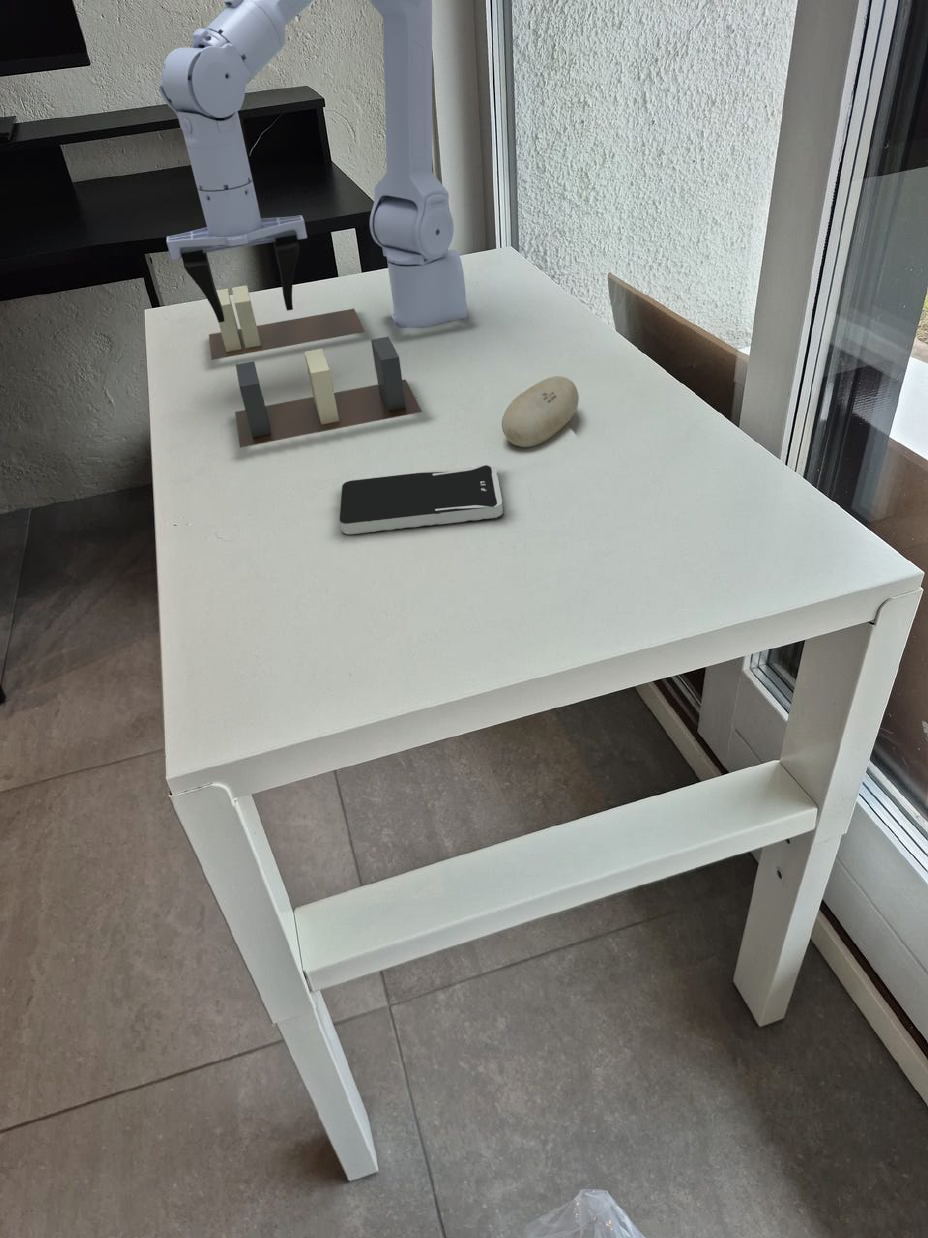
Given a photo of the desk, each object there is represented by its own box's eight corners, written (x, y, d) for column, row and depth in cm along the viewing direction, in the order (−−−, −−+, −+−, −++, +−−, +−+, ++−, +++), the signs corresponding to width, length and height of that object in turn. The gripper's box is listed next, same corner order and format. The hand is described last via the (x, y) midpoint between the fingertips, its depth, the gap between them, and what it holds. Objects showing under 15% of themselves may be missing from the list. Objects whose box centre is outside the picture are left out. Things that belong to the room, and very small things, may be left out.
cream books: (257, 329, 121) (247, 284, 118) (261, 345, 117) (250, 299, 113) (224, 335, 121) (212, 290, 117) (226, 352, 116) (214, 306, 112)
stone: (594, 385, 96) (562, 404, 86) (571, 438, 99) (537, 462, 89) (546, 362, 97) (509, 378, 87) (525, 415, 100) (486, 437, 90)
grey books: (395, 386, 104) (388, 335, 100) (406, 408, 100) (399, 356, 96) (248, 414, 102) (235, 364, 98) (252, 438, 97) (239, 386, 93)
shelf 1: (355, 315, 125) (354, 308, 125) (366, 338, 118) (365, 331, 118) (210, 341, 122) (208, 334, 122) (213, 366, 115) (211, 359, 115)
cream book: (331, 398, 103) (321, 348, 99) (339, 421, 98) (329, 369, 95) (314, 401, 103) (303, 351, 99) (321, 424, 98) (310, 372, 94)
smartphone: (342, 481, 88) (495, 463, 88) (345, 493, 89) (496, 475, 89) (339, 524, 82) (502, 505, 82) (341, 536, 83) (503, 518, 83)
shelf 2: (406, 386, 106) (405, 378, 105) (423, 419, 99) (422, 411, 99) (236, 419, 103) (234, 411, 103) (241, 455, 96) (239, 447, 96)
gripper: (153, 204, 89) (191, 337, 98) (298, 181, 91) (323, 313, 100) (154, 187, 94) (190, 314, 103) (291, 166, 96) (315, 293, 105)
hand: (255, 313), depth 102 cm, fingers open, 7 cm apart
